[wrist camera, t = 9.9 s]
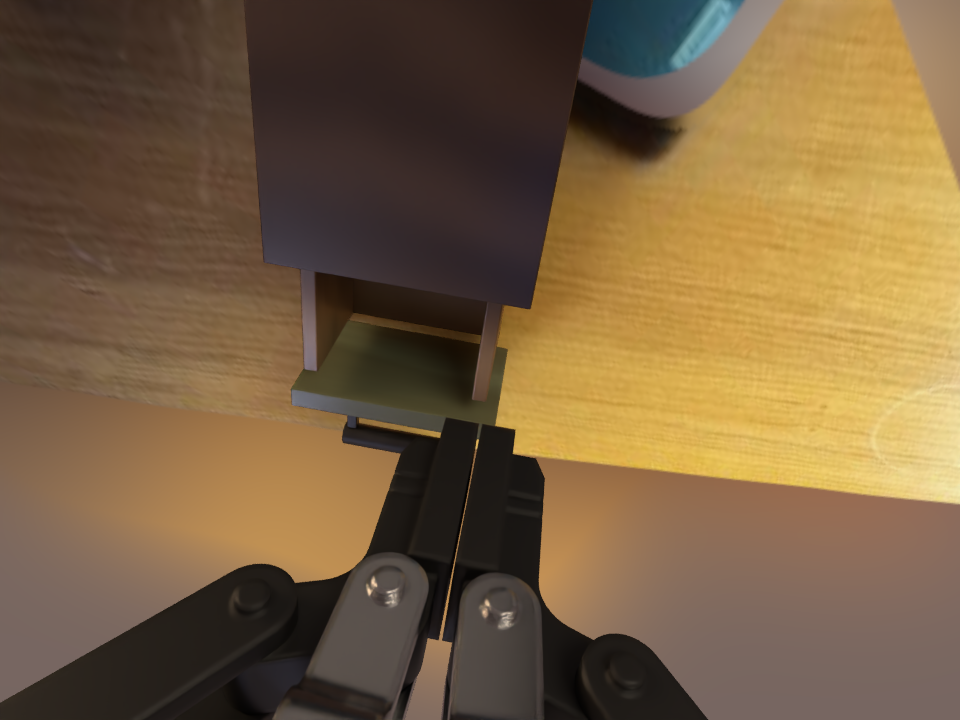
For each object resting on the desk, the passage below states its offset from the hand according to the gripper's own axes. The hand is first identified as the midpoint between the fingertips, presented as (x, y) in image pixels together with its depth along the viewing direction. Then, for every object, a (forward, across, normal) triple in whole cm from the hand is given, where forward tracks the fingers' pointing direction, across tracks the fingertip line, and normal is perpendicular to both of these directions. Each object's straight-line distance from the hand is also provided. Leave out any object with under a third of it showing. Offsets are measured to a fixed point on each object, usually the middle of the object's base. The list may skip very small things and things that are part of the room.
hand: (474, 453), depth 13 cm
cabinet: (+25, +5, -2) cm, 26 cm away
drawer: (+24, +5, +10) cm, 26 cm away
